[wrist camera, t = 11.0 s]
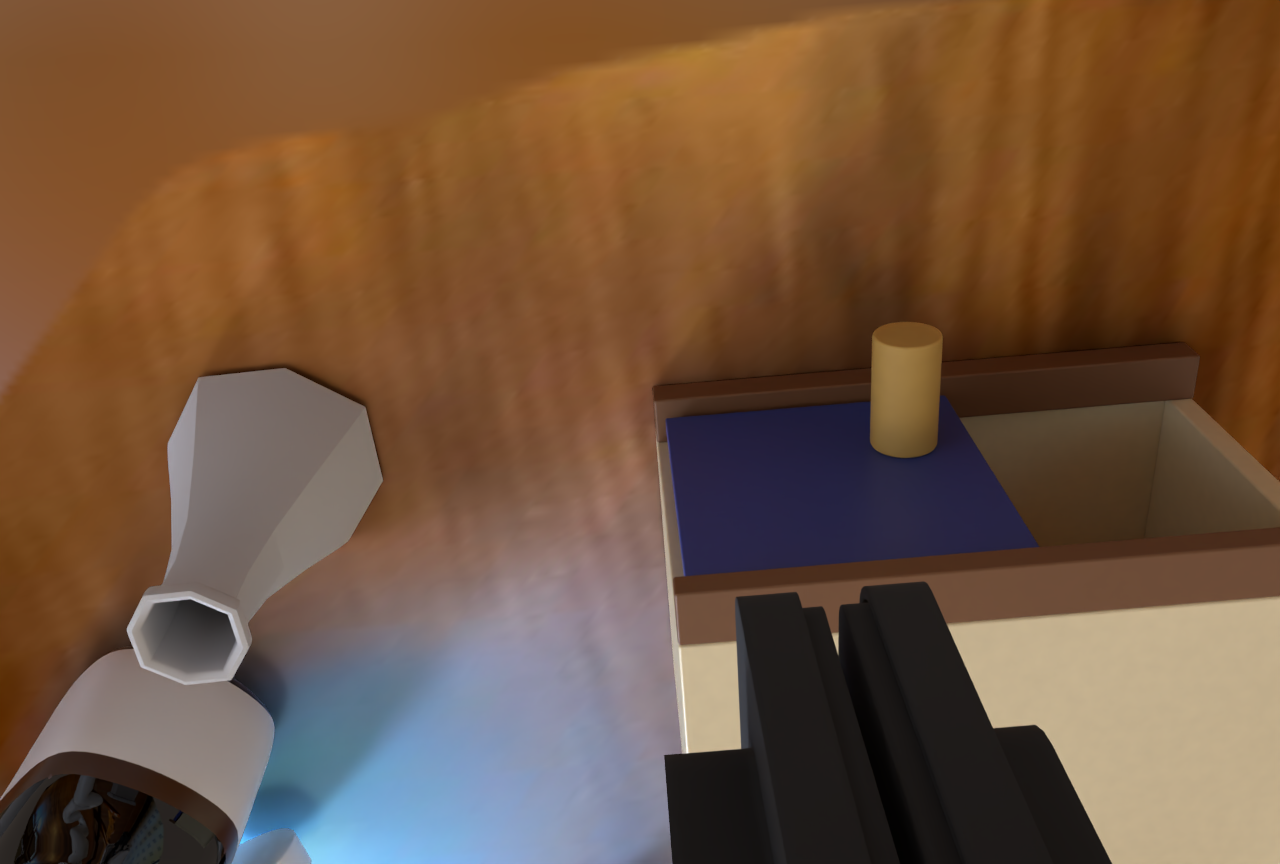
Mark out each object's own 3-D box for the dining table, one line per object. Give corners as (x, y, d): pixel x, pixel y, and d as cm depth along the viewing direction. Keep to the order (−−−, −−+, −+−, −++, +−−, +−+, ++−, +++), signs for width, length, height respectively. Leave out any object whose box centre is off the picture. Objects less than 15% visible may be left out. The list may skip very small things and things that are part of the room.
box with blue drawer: (652, 385, 39) (674, 594, 28) (1184, 341, 39) (1408, 534, 28) (672, 657, 44) (698, 919, 33) (1140, 619, 44) (1314, 869, 33)
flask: (397, 384, 38) (338, 550, 30) (372, 561, 42) (313, 759, 33) (173, 343, 37) (44, 502, 29) (166, 528, 41) (47, 722, 32)
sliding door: (658, 315, 36) (677, 461, 28) (950, 291, 36) (1058, 429, 28) (666, 433, 38) (687, 603, 30) (944, 411, 38) (1043, 574, 30)
